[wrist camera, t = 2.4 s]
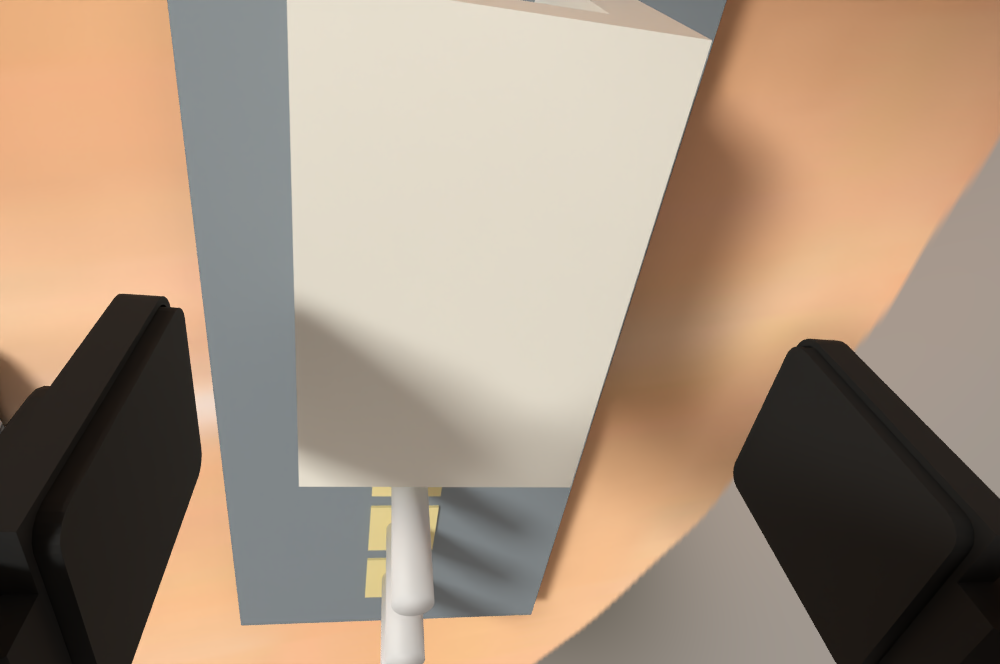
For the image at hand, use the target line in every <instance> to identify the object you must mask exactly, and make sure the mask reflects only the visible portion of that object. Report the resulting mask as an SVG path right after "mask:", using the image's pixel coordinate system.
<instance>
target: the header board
mask: <svg viewBox="0 0 1000 664" xmlns="http://www.w3.org/2000/svg"><path fill="white" fill-rule="evenodd" d="M523 1H529V2H535V0H523ZM639 1H640V2H642V3H644V4H646V5H648V6H650V7H651V8H653V9H655V10H657V11H659V12H661V13H663V14H664V15H666V16H668V17H670V18H672V19H674V20H676V21H677V22H679V23H681V24H683V25H685V26H687V27H688V28H690V29H692V30H694V31H696V32H698V33H700V34H701V35H703V36H705V37H707V38H709V39H711V40H712V43H711V46H710V49H709V52H708V56H707V59H706V62H705V65H704V68H703V71H702V75H701V78H700V81H699V84H698V87H697V90H696V93H695V97H694V100H693V103H692V106H691V109H690V112H689V115H688V119H687V122H686V125H685V128H684V131H683V134H682V138H681V141H680V144H679V147H678V150H677V153H676V156H675V160H674V163H673V166H672V169H671V172H670V175H669V179H668V182H667V185H666V188H665V191H664V194H663V197H662V201H661V204H660V207H659V210H658V213H657V216H656V220H655V223H654V226H653V229H652V232H651V235H650V238H649V242H650V239H651V236H652V233H653V230H654V227H655V224H656V221H657V217H658V214H659V211H660V208H661V205H662V202H663V199H664V195H665V192H666V189H667V186H668V183H669V180H670V177H671V173H672V170H673V167H674V164H675V161H676V158H677V155H678V151H679V148H680V145H681V142H682V139H683V136H684V133H685V129H686V126H687V123H688V120H689V117H690V114H691V111H692V107H693V104H694V101H695V98H696V95H697V92H698V89H699V85H700V82H701V79H702V76H703V73H704V70H705V67H706V64H707V60H708V57H709V54H710V51H711V48H712V45H713V42H714V38H715V35H716V32H717V29H718V26H719V23H720V20H721V16H722V13H723V10H724V7H725V4H726V1H727V0H639ZM167 2H168V11H169V19H170V28H171V36H172V44H173V53H174V61H175V70H176V78H177V87H178V95H179V104H180V112H181V120H182V129H183V137H184V146H185V154H186V163H187V171H188V180H189V188H190V196H191V205H192V213H193V222H194V230H195V239H196V247H197V256H198V264H199V272H200V281H201V289H202V298H203V306H204V315H205V323H206V332H207V340H208V348H209V357H210V365H211V374H212V382H213V391H214V399H215V408H216V416H217V424H218V433H219V441H220V450H221V458H222V467H223V475H224V484H225V492H226V501H227V509H228V517H229V526H230V534H231V543H232V551H233V560H234V568H235V577H236V585H237V593H238V602H239V610H240V619H241V625H265V624H292V623H319V622H345V621H372V620H381V664H423V663H424V661H425V653H424V629H423V619H426V618H452V617H479V616H506V615H531V613H532V610H533V607H534V604H535V600H536V597H537V594H538V591H539V588H540V585H541V582H542V578H543V575H544V572H545V569H546V566H547V563H548V560H549V556H550V553H551V550H552V547H553V544H554V541H555V538H556V535H557V531H558V528H559V525H560V522H561V519H562V516H563V513H564V509H565V506H566V503H567V500H568V497H569V494H570V491H571V487H572V484H573V481H574V478H575V475H576V472H577V469H578V465H579V462H580V459H581V456H582V453H583V450H584V447H585V443H586V440H587V437H588V434H589V431H590V428H591V425H592V421H593V418H594V415H595V412H596V409H597V406H598V403H599V399H600V396H601V393H602V390H603V387H604V384H605V381H606V378H607V374H608V371H609V368H610V365H611V362H612V359H613V356H614V352H615V349H616V346H617V343H618V340H619V337H620V334H621V330H622V327H623V324H624V321H625V318H626V315H627V312H628V308H629V305H630V302H631V299H632V296H633V293H634V290H635V286H636V283H637V280H638V277H639V274H640V271H641V268H642V264H643V261H644V258H645V255H646V252H647V249H648V246H649V242H648V245H647V248H646V251H645V254H644V257H643V260H642V264H641V267H640V270H639V273H638V276H637V279H636V283H635V286H634V289H633V292H632V295H631V298H630V301H629V305H628V308H627V311H626V314H625V317H624V320H623V324H622V327H621V330H620V333H619V336H618V339H617V342H616V346H615V349H614V352H613V355H612V358H611V361H610V365H609V368H608V371H607V374H606V377H605V380H604V383H603V387H602V390H601V393H600V396H599V399H598V402H597V405H596V409H595V412H594V415H593V418H592V421H591V424H590V428H589V431H588V434H587V437H586V440H585V443H584V446H583V450H582V453H581V456H580V459H579V462H578V465H577V469H576V472H575V475H574V478H573V481H572V484H571V487H299V469H298V429H297V389H296V349H295V309H294V269H293V229H292V189H291V150H290V110H289V70H288V30H287V0H167Z"/></svg>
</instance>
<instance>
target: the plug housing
mask: <svg viewBox="0 0 1000 664" xmlns="http://www.w3.org/2000/svg"><path fill="white" fill-rule="evenodd" d="M287 30H288V70H289V110H290V150H291V189H292V229H293V269H294V309H295V349H296V389H297V429H298V469H299V487H571V484H572V481H573V478H574V475H575V472H576V469H577V465H578V462H579V459H580V456H581V453H582V450H583V446H584V443H585V440H586V437H587V434H588V431H589V428H590V424H591V421H592V418H593V415H594V412H595V409H596V405H597V402H598V399H599V396H600V393H601V390H602V387H603V383H604V380H605V377H606V374H607V371H608V368H609V365H610V361H611V358H612V355H613V352H614V349H615V346H616V342H617V339H618V336H619V333H620V330H621V327H622V324H623V320H624V317H625V314H626V311H627V308H628V305H629V301H630V298H631V295H632V292H633V289H634V286H635V283H636V279H637V276H638V273H639V270H640V267H641V264H642V260H643V257H644V254H645V251H646V248H647V245H648V242H649V238H650V235H651V232H652V229H653V226H654V223H655V220H656V216H657V213H658V210H659V207H660V204H661V201H662V197H663V194H664V191H665V188H666V185H667V182H668V179H669V175H670V172H671V169H672V166H673V163H674V160H675V156H676V153H677V150H678V147H679V144H680V141H681V138H682V134H683V131H684V128H685V125H686V122H687V119H688V115H689V112H690V109H691V106H692V103H693V100H694V97H695V93H696V90H697V87H698V84H699V81H700V78H701V75H702V71H703V68H704V65H705V62H706V59H707V56H708V52H709V49H710V46H711V43H712V40H711V39H709V38H707V37H705V36H703V35H701V34H700V33H698V32H696V31H694V30H692V29H690V28H688V27H687V26H685V25H683V24H681V23H679V22H677V21H676V20H674V19H672V18H670V17H668V16H666V15H664V14H663V13H661V12H659V11H657V10H655V9H653V8H651V7H650V6H648V5H646V4H644V3H642V2H640V1H639V0H535V2H529V1H523V0H287Z"/></svg>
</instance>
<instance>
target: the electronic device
mask: <svg viewBox="0 0 1000 664" xmlns="http://www.w3.org/2000/svg"><path fill="white" fill-rule="evenodd" d="M4 428H5V427H4V425H3V423H2V422H1V419H0V433H1V432H2V431H3V429H4Z"/></svg>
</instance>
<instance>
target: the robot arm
mask: <svg viewBox="0 0 1000 664" xmlns="http://www.w3.org/2000/svg"><path fill="white" fill-rule="evenodd" d="M201 457H202V452H201V443H200V435H199V427H198V419H197V411H196V403H195V395H194V388H193V380H192V372H191V364H190V356H189V348H188V340H187V332H186V325H185V317H184V313H183V311H182V309H181V308H173V307H170V304H169V302H168V299H167V298H166V297H164V296H149V295H133V294H118V295H117V296H116V297H115V298H114V299H113V301H112V302H111V303H110V305H109V306H108V307H107V309H106V310H105V312H104V313H103V314H102V316H101V317H100V318H99V320H98V321H97V323H96V324H95V325H94V327H93V328H92V329H91V331H90V332H89V334H88V335H87V336H86V338H85V339H84V340H83V342H82V343H81V345H80V346H79V347H78V349H77V350H76V351H75V353H74V354H73V356H72V357H71V358H70V360H69V361H68V362H67V364H66V365H65V367H64V368H63V369H62V371H61V372H60V373H59V375H58V376H57V378H56V379H55V380H54V382H53V383H52V384H51V386H43V387H40V388H37V389H36V390H35V391H34V392H33V393H32V394H31V395H30V396H28V398H27V399H26V400H25V402H24V403H23V404H22V406H21V407H20V408H19V410H18V411H17V412H16V413H15V415H14V416H13V417H12V419H11V420H10V421H9V423H8V424H7V425H6V427H5V428H4V429H3V431H2V432H1V433H0V664H132V661H133V658H134V655H135V653H136V650H137V647H138V644H139V641H140V639H141V636H142V633H143V630H144V627H145V625H146V622H147V619H148V616H149V613H150V611H151V608H152V605H153V602H154V599H155V597H156V594H157V591H158V588H159V585H160V583H161V580H162V577H163V574H164V571H165V569H166V566H167V563H168V560H169V557H170V555H171V552H172V549H173V546H174V543H175V541H176V538H177V535H178V532H179V529H180V527H181V524H182V521H183V518H184V515H185V513H186V510H187V507H188V504H189V501H190V499H191V496H192V493H193V490H194V487H195V485H196V482H197V479H198V476H199V472H200V467H201ZM733 476H734V482H735V484H736V487H737V489H738V490H739V492H740V494H741V496H742V497H743V499H744V501H745V503H746V504H747V506H748V508H749V510H750V512H751V513H752V515H753V517H754V519H755V520H756V522H757V524H758V526H759V528H760V529H761V531H762V533H763V534H764V536H765V538H766V540H767V542H768V544H769V545H770V547H771V549H772V550H773V552H774V554H775V556H776V558H777V559H778V561H779V563H780V565H781V566H782V568H783V570H784V572H785V573H786V575H787V577H788V579H789V581H790V582H791V584H792V586H793V588H794V589H795V591H796V593H797V595H798V597H799V598H800V600H801V602H802V604H803V605H804V607H805V609H806V610H807V613H808V614H809V616H810V618H811V620H812V621H813V623H814V625H815V627H816V628H817V630H818V632H819V634H820V636H821V637H822V639H823V641H824V642H825V644H826V646H827V648H828V650H829V651H830V653H831V655H832V657H833V658H834V660H835V662H836V663H837V664H1000V499H999V498H998V497H997V496H996V495H995V494H994V493H993V492H992V491H991V490H990V489H989V488H988V487H987V486H986V485H985V484H984V483H983V482H982V480H981V479H979V477H977V476H976V474H975V473H973V471H972V470H971V469H970V468H969V467H968V466H967V465H965V463H964V462H963V461H962V460H961V459H960V458H959V457H958V456H957V455H956V454H955V453H954V452H953V451H952V450H951V449H949V447H948V446H947V445H946V444H945V443H944V442H943V441H942V440H941V439H940V438H939V437H938V436H937V435H936V434H935V433H934V432H933V431H932V430H931V429H930V428H929V427H928V426H927V425H926V424H925V423H924V422H923V421H922V420H921V419H920V418H919V417H918V416H917V415H916V414H915V413H914V412H913V411H912V410H911V409H910V408H909V407H908V406H907V405H906V404H905V403H904V402H903V401H902V400H901V399H900V398H899V397H898V396H897V395H896V394H895V393H894V392H893V391H892V390H891V389H890V388H889V387H888V386H887V385H886V384H885V383H884V382H883V381H882V380H881V379H880V378H879V377H878V376H877V375H876V374H875V373H874V372H873V371H872V370H871V369H870V368H869V367H868V366H867V365H866V364H865V363H864V362H863V361H862V360H861V359H860V358H859V357H858V356H857V355H856V354H855V353H854V352H853V351H852V349H851V348H850V347H849V346H848V345H846V344H845V343H843V342H841V341H834V340H819V339H806V340H803V341H801V342H800V343H799V344H798V345H797V347H794V348H792V349H791V350H789V352H788V353H787V355H786V357H785V359H784V361H783V364H782V366H781V368H780V370H779V372H778V374H777V376H776V378H775V380H774V382H773V385H772V387H771V389H770V391H769V393H768V395H767V397H766V399H765V401H764V403H763V406H762V408H761V410H760V412H759V414H758V416H757V418H756V420H755V422H754V424H753V427H752V429H751V431H750V433H749V435H748V437H747V439H746V441H745V443H744V446H743V448H742V450H741V452H740V454H739V456H738V458H737V460H736V462H735V465H734V471H733Z"/></svg>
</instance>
